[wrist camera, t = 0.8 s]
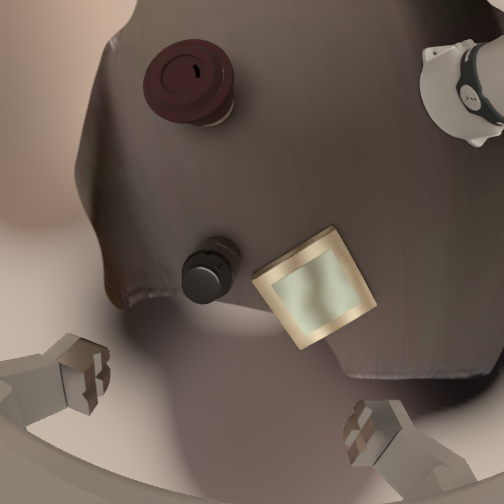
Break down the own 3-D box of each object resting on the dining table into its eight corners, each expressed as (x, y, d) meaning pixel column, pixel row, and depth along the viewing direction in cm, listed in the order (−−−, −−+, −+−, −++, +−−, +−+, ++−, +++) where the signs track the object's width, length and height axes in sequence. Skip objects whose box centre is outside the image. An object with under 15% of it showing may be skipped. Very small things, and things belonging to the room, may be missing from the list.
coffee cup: (168, 126, 42) (124, 109, 27) (189, 67, 39) (156, 28, 25) (230, 143, 42) (211, 129, 27) (252, 82, 39) (244, 42, 25)
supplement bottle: (238, 234, 45) (228, 256, 34) (242, 277, 47) (234, 312, 35) (193, 237, 46) (169, 259, 34) (199, 280, 47) (178, 313, 36)
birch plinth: (331, 225, 44) (336, 229, 41) (371, 297, 47) (377, 305, 44) (252, 274, 47) (251, 281, 44) (298, 340, 49) (300, 350, 46)
